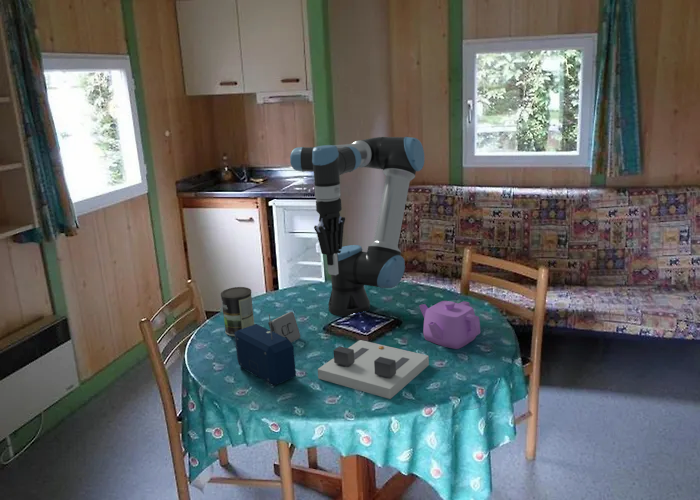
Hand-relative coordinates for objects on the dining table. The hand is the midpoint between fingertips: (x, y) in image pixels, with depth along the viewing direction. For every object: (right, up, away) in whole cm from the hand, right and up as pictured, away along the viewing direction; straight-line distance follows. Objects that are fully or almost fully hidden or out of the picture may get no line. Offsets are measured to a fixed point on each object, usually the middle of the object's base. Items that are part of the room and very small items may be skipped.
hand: (333, 273), depth 194 cm
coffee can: (-33, -21, +24) cm, 46 cm away
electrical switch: (-16, -23, +13) cm, 31 cm away
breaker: (+15, -27, -19) cm, 36 cm away
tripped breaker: (+3, -25, -11) cm, 28 cm away
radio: (-19, -29, -7) cm, 36 cm away
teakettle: (+36, -21, +8) cm, 43 cm away
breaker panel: (+12, -28, -11) cm, 32 cm away
